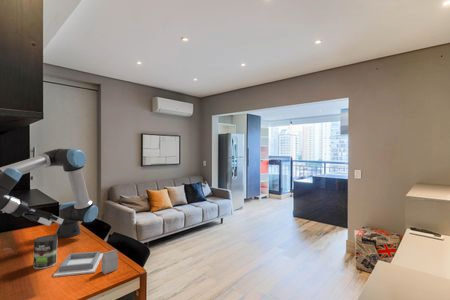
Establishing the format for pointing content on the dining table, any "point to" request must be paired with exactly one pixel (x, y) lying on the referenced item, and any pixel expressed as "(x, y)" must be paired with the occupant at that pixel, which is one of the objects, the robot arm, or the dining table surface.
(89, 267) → the caddy
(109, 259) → the white printed box
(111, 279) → the dining table surface
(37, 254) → the coffee can
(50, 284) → the dining table surface
